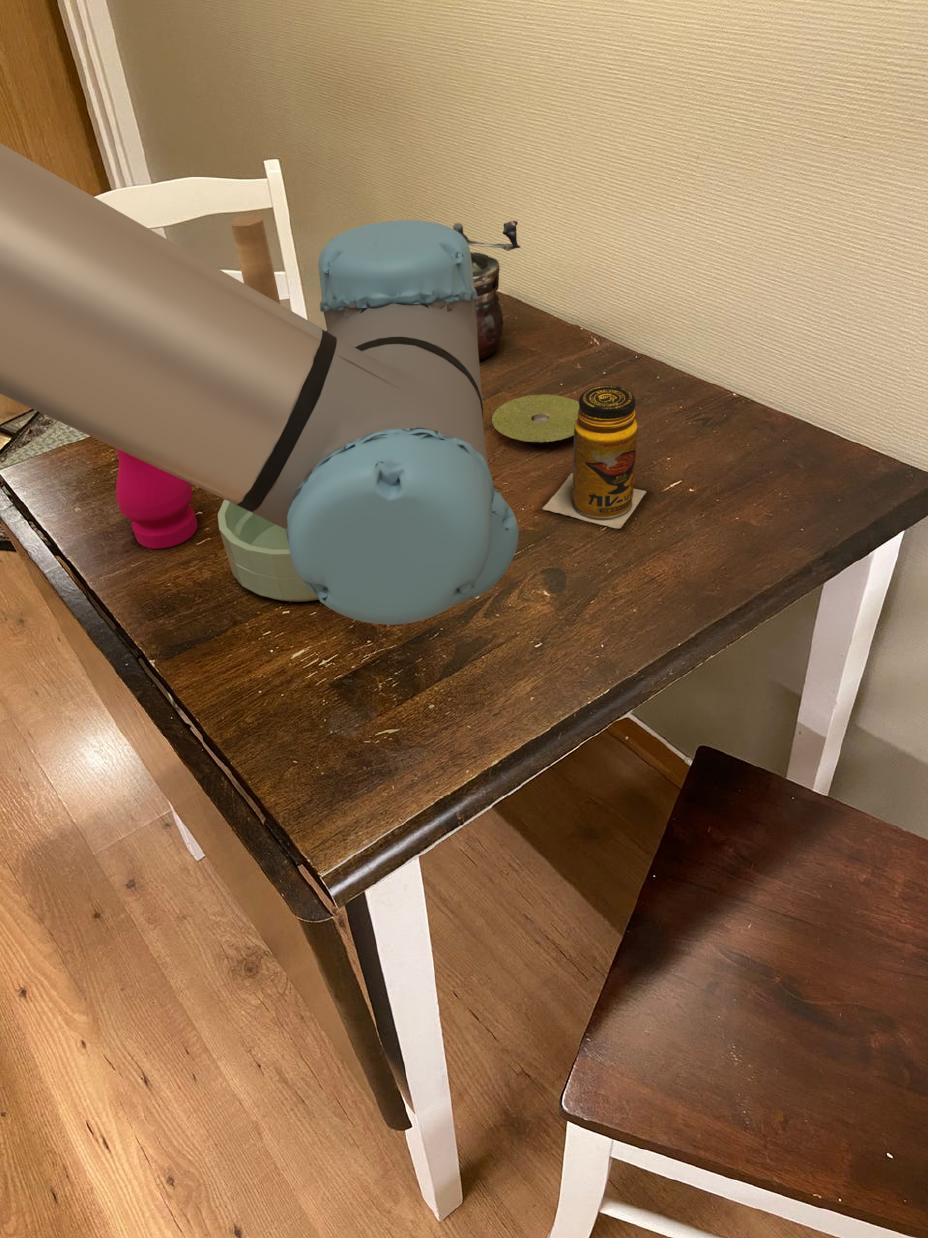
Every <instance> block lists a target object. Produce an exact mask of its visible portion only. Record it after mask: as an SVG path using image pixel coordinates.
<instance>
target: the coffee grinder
mask: <svg viewBox="0 0 928 1238" xmlns="http://www.w3.org/2000/svg"><path fill="white" fill-rule="evenodd" d="M518 224H519V223H518V221H516V220H511V221H507V222H504V223H503V231H502V235H504V236H506V237H507V239H508V240H509V242H510V243H484V242H479V241H474V240H471V239H469V238H468V236H467V235H465V233H464V225H463V224H462V223H460V222H456V223H454V224H453V226H452V229H454V230H456V231H457V232H459V233H460V234H461V235H462V236H463V237H464V239H465V240H466V241H467V244H468V246H472V247H473V246H474V247H481V248H482V247H486V248H496V249H502V250H505V251H506V252H509V251H513V250H515V249H521V246H520V244H518V241H517V239H518V237H517V236H518V235H517V226H518ZM470 252H471V262H472V272H473V282H474V288H475V290H476V292H477V301H476V316H477V339H478V355H479V360H482V359H486V358H488V357H489V356H494V354H495V352H496V351H497V348H498V345H499V343H500V339H501V336H502V335H503V325H504V315H503V311H502V308H501V306H500V303H499V300H500V298H499V295H498V294H497V291H498V290H499V285H500V284H499V283H500V271H501V270H500V263H499V261H498V260H497V259H496V258H495V257H492V256H489V255H487V254H484V253H481V252H478V251H477V252H475V251H470Z"/></svg>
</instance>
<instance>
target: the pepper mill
mask: <svg viewBox="0 0 928 1238" xmlns="http://www.w3.org/2000/svg"><path fill="white" fill-rule="evenodd" d="M115 450H116V453H117V457H118V471H117V476H116V487H115V496H116V501H117V505H118V509H119V510H120V512H121V514H122V515H123V516H124V517H125V518H127V519H128V520H130V521H131V529H132V530H133V531H132V532H133V534H134V537H135V539H136V541H137V543H138V544H139V545H141V546H143V547H144V548H147V549H153V550H161V549H163V550H164V549H168V548H172V547H175V546H179V545H181V544H183V543H185V542H187V541H188V540H189V539H190V538H192V537H193V536H194V535H195V533H197V531H198V530H197V529H198V525H199V524H198V520H197V516H196V514H195V510H194V508H193V507H192V506H191V503H192V500H193V494H194V493H193V488H192V484H191V483H189V482H187V481H184V480H182V479H180V478H178V477H176V476H174V475H172V474H170V473H168V472H165V471H163V470H161V469H159V468H157V467H155V466H153V465H151V464H148V463H146V462H144V461H142V460H140V459H138V458H136V457H134V456H131V455H129V454H127V453H125V452H123V451H121V450H119V449H117V448H115Z"/></svg>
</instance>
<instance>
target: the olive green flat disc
mask: <svg viewBox="0 0 928 1238" xmlns="http://www.w3.org/2000/svg"><path fill="white" fill-rule="evenodd" d="M578 402H579V400H578V401H577V400H575V399H572V398H569V397H567V396H563V395H556V394H546V393H545V394H544V393H543V394H531V395H526V396H519V397H517V398H514V399H511V400H509V401H506V402H505V403H503V404H502V405H500V406H498V407H497V409H495V411H494V412H493V413H492V416H491V424H492V425H493V427H494V429H495V430H496V431H497V432H498V433H500V434H501V435H503V436H505V437H508V438H510V439H514V440H517V441H522V442H524V443H525V442H530V443H545V442H546V443H549V442H551V443H554V442H556V441H562V440H564V439H569V438H571V437H574V425H575V422H576V420H577V419H578V410H579V403H578Z"/></svg>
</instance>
